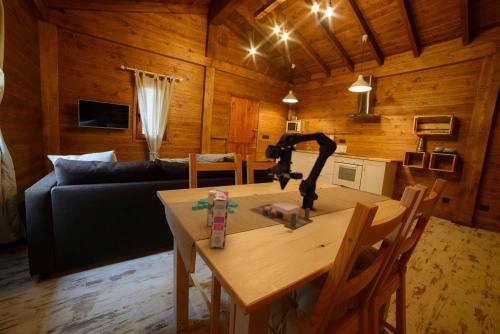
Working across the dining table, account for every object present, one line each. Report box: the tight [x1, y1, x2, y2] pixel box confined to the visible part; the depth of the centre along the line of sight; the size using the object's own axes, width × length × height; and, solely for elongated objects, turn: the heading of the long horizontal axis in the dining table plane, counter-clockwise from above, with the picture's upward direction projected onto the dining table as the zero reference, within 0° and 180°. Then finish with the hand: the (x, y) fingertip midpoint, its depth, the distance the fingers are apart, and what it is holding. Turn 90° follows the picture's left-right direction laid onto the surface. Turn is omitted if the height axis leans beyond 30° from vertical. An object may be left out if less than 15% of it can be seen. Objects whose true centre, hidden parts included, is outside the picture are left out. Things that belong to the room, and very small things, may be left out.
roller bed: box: [247, 203, 314, 231], centre depth 105 cm, size 16×27×6 cm, turn 45°
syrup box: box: [206, 188, 228, 228], centre depth 89 cm, size 6×6×14 cm
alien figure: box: [191, 197, 239, 214], centre depth 113 cm, size 20×2×20 cm
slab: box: [271, 200, 302, 215], centre depth 103 cm, size 10×9×2 cm
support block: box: [283, 211, 300, 221], centre depth 101 cm, size 5×5×4 cm
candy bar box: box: [209, 191, 229, 249], centre depth 76 cm, size 11×5×16 cm, turn 5°
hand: (282, 189), depth 112 cm, fingers closed
